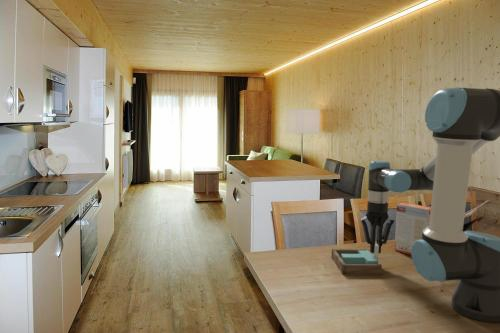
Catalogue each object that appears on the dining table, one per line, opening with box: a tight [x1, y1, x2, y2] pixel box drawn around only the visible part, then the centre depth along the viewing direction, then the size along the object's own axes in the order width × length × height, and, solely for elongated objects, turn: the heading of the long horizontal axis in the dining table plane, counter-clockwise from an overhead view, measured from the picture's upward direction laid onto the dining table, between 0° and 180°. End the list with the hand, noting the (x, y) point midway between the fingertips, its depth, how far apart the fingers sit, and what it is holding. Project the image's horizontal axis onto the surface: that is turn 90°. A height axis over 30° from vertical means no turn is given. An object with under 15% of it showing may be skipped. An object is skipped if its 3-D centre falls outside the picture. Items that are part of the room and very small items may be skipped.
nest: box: [331, 248, 382, 276], centre depth 151 cm, size 18×14×4 cm
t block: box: [341, 250, 379, 264], centre depth 151 cm, size 12×12×4 cm
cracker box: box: [394, 202, 431, 256], centre depth 164 cm, size 14×6×21 cm, turn 36°
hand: (374, 260), depth 151 cm, fingers closed
